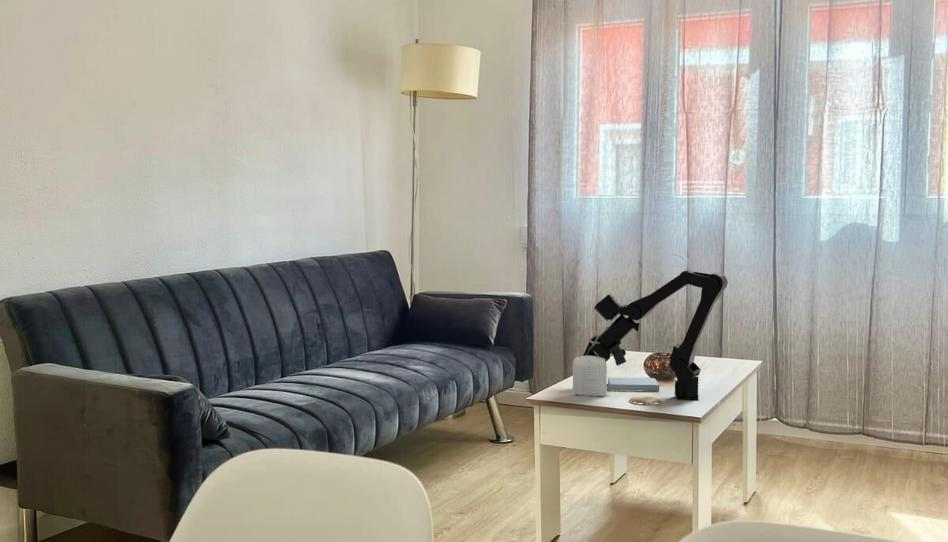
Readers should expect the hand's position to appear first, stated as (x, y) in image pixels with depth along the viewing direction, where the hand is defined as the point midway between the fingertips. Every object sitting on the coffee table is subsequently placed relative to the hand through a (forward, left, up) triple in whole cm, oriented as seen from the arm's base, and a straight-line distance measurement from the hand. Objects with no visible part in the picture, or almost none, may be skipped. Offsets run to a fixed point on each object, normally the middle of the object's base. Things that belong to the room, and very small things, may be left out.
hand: (581, 366), depth 288 cm
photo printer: (-4, +7, -7) cm, 11 cm away
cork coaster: (-21, +12, -7) cm, 25 cm away
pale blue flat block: (-16, -8, -7) cm, 19 cm away
